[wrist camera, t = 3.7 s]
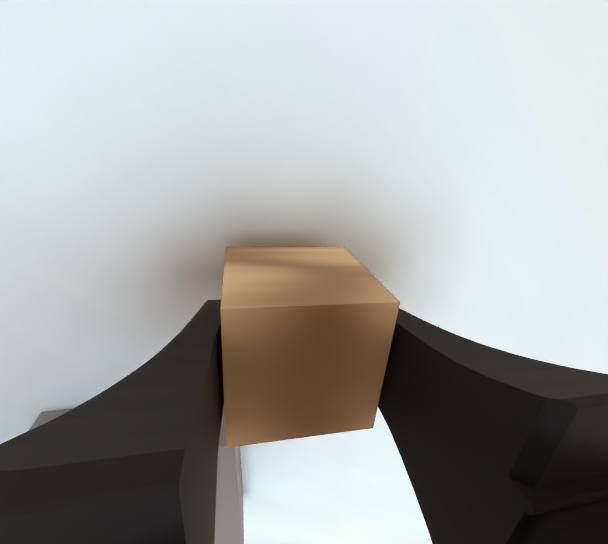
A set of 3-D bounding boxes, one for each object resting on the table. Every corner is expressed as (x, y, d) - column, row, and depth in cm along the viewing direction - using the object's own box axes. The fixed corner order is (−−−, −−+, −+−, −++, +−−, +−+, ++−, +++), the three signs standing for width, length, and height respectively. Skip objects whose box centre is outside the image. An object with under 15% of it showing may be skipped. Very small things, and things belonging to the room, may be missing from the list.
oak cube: (229, 349, 13) (225, 447, 9) (226, 247, 11) (220, 308, 7) (332, 342, 14) (373, 428, 10) (344, 247, 12) (400, 302, 8)
